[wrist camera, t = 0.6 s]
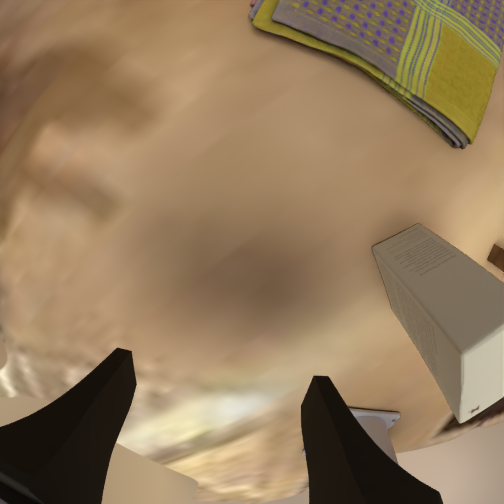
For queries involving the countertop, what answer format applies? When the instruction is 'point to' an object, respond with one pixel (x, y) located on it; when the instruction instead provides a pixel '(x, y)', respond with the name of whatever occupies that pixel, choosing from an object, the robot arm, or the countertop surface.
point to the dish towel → (406, 50)
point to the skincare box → (448, 315)
